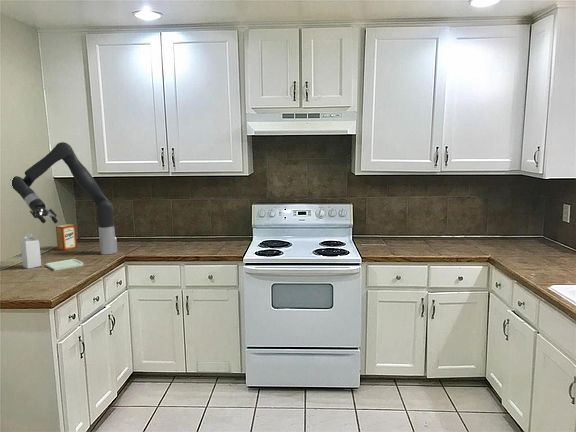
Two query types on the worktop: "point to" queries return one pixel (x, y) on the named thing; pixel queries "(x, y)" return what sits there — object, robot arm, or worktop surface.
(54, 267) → the tray
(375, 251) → the worktop surface
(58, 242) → the baking soda box
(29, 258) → the milk carton
